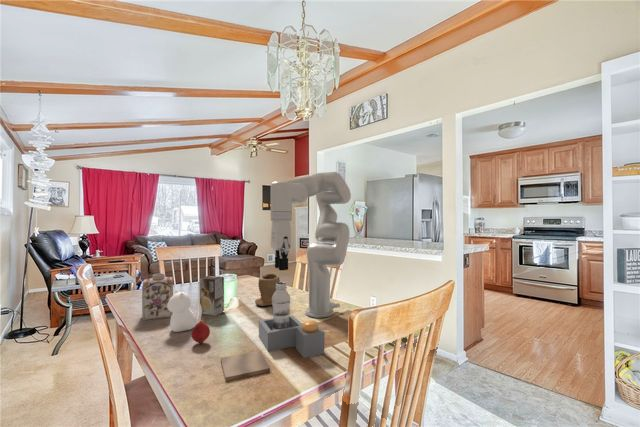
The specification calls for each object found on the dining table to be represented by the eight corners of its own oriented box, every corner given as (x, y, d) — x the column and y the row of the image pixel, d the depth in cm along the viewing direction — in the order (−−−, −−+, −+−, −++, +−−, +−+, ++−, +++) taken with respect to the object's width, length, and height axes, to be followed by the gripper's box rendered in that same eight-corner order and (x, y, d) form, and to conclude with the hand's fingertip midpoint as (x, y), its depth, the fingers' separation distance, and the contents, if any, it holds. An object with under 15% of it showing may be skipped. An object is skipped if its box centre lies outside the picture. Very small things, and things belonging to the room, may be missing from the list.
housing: (300, 329, 114) (300, 311, 114) (324, 353, 94) (324, 331, 94) (258, 336, 108) (258, 317, 108) (275, 364, 88) (275, 340, 88)
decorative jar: (173, 309, 140) (173, 271, 140) (173, 316, 129) (173, 275, 130) (144, 312, 135) (144, 273, 135) (141, 321, 124) (141, 277, 124)
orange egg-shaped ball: (314, 337, 99) (314, 319, 99) (320, 343, 95) (320, 324, 95) (300, 340, 97) (300, 321, 97) (305, 346, 93) (305, 326, 93)
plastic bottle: (287, 345, 101) (287, 285, 101) (268, 343, 102) (268, 285, 102) (293, 337, 107) (293, 281, 107) (275, 336, 108) (275, 281, 109)
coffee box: (224, 311, 136) (224, 276, 136) (215, 316, 130) (215, 279, 130) (209, 309, 139) (209, 275, 140) (198, 313, 133) (198, 277, 134)
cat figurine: (164, 329, 115) (164, 290, 115) (197, 321, 123) (197, 285, 123) (171, 336, 108) (170, 295, 108) (205, 327, 116) (205, 289, 116)
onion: (198, 348, 98) (198, 324, 98) (187, 344, 101) (187, 321, 101) (213, 342, 103) (213, 319, 103) (202, 338, 106) (202, 316, 106)
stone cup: (261, 309, 139) (261, 277, 139) (252, 303, 149) (252, 273, 149) (290, 304, 147) (290, 274, 147) (280, 299, 157) (280, 270, 157)
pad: (260, 353, 94) (260, 350, 94) (269, 371, 83) (269, 368, 83) (220, 361, 90) (220, 357, 90) (225, 381, 79) (225, 377, 79)
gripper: (265, 216, 111) (265, 266, 111) (277, 217, 96) (277, 273, 96) (284, 216, 114) (284, 264, 114) (299, 216, 99) (299, 272, 99)
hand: (281, 268), depth 105 cm, fingers open, 4 cm apart
